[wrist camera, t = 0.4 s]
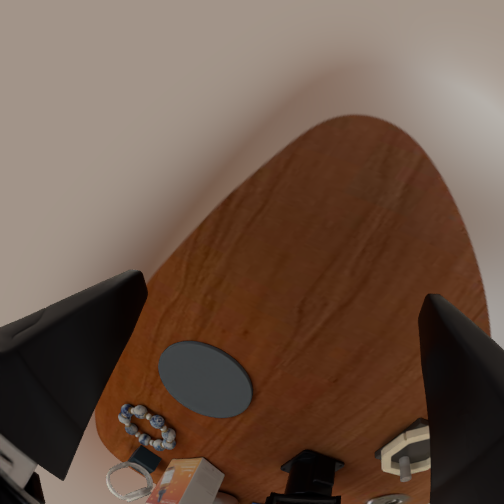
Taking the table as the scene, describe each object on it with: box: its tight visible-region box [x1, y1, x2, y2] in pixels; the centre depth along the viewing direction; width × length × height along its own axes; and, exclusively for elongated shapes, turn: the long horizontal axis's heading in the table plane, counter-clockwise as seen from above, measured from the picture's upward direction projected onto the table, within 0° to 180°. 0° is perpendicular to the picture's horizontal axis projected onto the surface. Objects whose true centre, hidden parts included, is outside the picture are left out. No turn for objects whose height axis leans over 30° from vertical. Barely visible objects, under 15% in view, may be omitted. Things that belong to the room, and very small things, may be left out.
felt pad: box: [158, 341, 253, 418], centre depth 30 cm, size 11×11×1 cm
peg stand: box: [375, 418, 430, 482], centre depth 24 cm, size 8×8×4 cm
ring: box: [381, 426, 431, 475], centre depth 25 cm, size 10×10×1 cm
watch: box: [106, 445, 161, 502], centre depth 35 cm, size 6×8×11 cm
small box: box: [146, 458, 225, 504], centre depth 32 cm, size 8×6×10 cm
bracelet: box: [118, 404, 176, 451], centre depth 35 cm, size 10×10×2 cm
